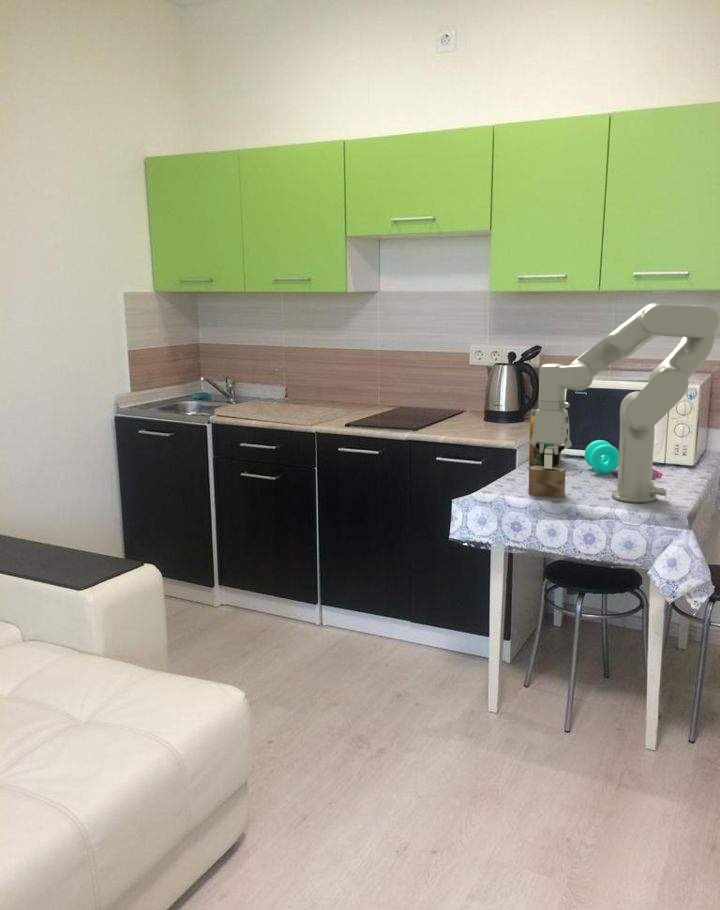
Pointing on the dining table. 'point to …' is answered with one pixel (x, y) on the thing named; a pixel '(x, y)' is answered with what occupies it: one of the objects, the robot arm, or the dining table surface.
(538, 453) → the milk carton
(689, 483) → the dining table surface
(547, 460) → the white lidded box
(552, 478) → the brown wooden block
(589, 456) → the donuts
